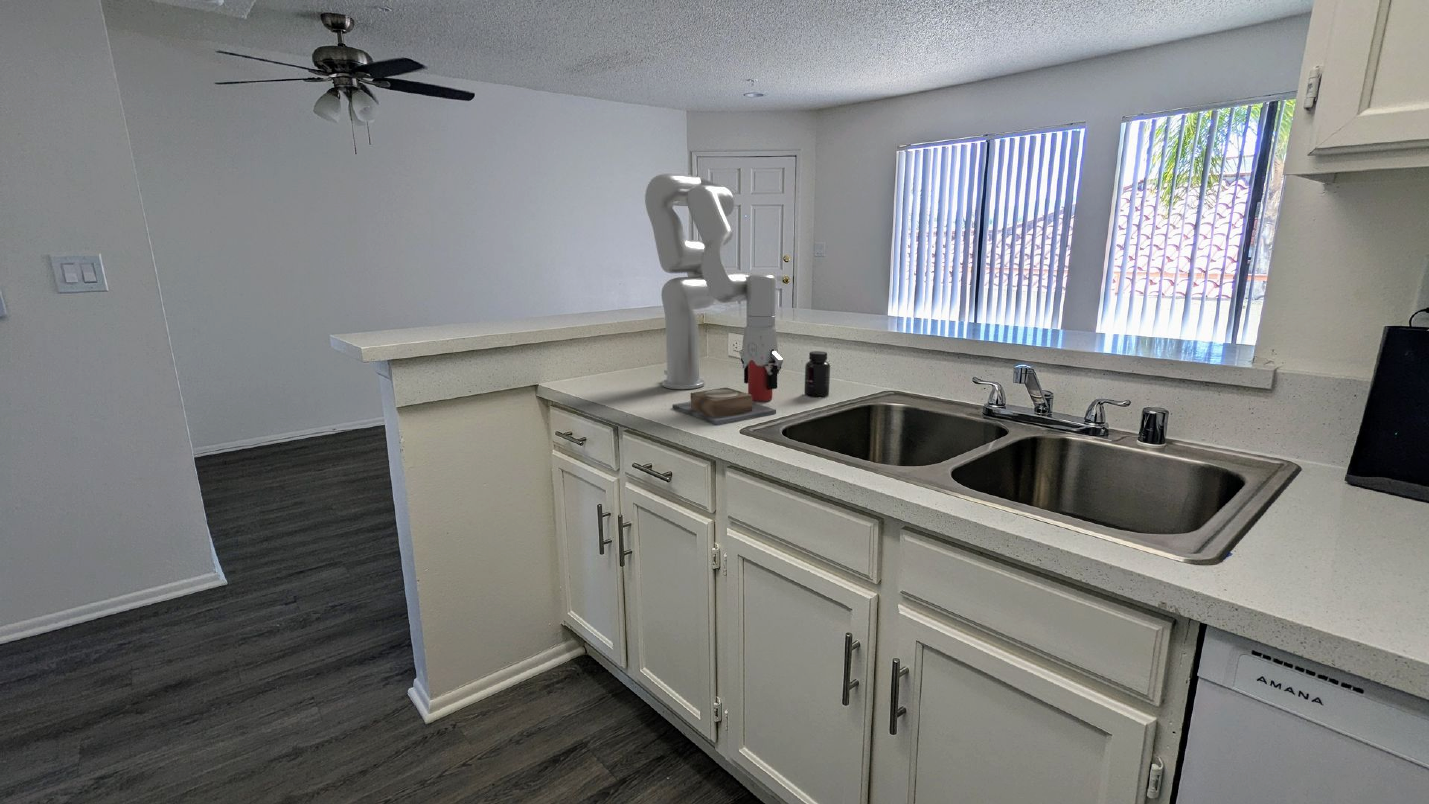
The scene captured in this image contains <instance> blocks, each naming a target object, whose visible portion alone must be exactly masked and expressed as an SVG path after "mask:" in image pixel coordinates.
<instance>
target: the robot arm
mask: <svg viewBox="0 0 1429 804" xmlns="http://www.w3.org/2000/svg"><path fill="white" fill-rule="evenodd" d="M734 199H735V198H734V196H733V193H732V192H731V191H730V190H729V189H728V188H727V187H725V186H724V185H721V184H718V183H716V182H714V181H711V180H707V179H706V178H702V177H700V176H697V175H696V176H694V175H688V174H687V175H686V174H677V173H662V174H657V175H656V176H654V177H653V178H652V179H650V181H649V182H648V184H647V186H646V189H645V195H644V202H645V203H644V204H645V209H646V211H647V215H648V217H649V220H650V223H651V227H652V230H653V235H654V241H655V246H656V251H657V256H658V261H659V264H660V267H661V270H662V271H664V272H666V273H667V274H686V276H685V277H684V276H683V277H674V278H671V279H669V280H667V281H666V282H665V283H664V285H663V286H662V288H661V303H662V306H663V311H664V318H665V339H666V340H665V341H666V342H665V343H666V345H665V346H666V369H665V370H664V372H663V374H664V375H666V379H664V380H662V382H661V385H662V387H664V388H667V389H672V390H692V389H698V388H701V387H703V386H705V380H704V379H702V378H700V349H699V347H700V346H699V345H700V344H699V343H700V340H699V339H700V337H699V336H700V335H699V323H698V319H697V317H696V315H695V312H694V310H700V309H707V308H709V307H711V306H713V304H714V303H715V301H717V302H719V303H735V302H746V326H744V330H743V337H742V338H743V339H742V347H741V348H742V349H741V350H740V351H739V352H738V353H739V356H740V357H739V358H740V362H741V363H742V369H743V382H744V383H743V384H747V385H748V363H749V361H750V360H753V361H754V362H755V364H756V365H757V366H759V367H764V366H765V368H766V370H767V372H768V375H767V380H766V388H767V390H771V389H772V390H774V389H775V390H777V388H778V375H779V374H780V371H781V369H782V365H783V363H784V359H783V358H782V357H781V356H780V354H778V350H779V349H778V337H777V329H776V286H777V285H776V278H775V276H774V275H772V274H767V273H765V274H764V273H763V274H762V273H760V274H759V273H757V274H756V273H750V272H732V273H731V272H729V273H728V272H727V270H726V267H725V265H724V263H723V260H722V248H723V247H724V246H726V245H727V244H728V243H730V241H731V240H732V239H733V236H734V233H733V232H734V231H733V230H732V227H731V226H730V223H729V221H728V218H727V217H728V216H729V215H731V214H732V212H733V210H734V207H735V200H734ZM675 206H677V207H687V208H688V210H689V213H690V215H691V217H692V218H691V219H692V221H693V223H694V225H695V227H696V230H697V233H698V235H699V237H700V239H701V241H702V242H701V241H699V240H697V239H687V238H686V236H685V232H684V227H683V224H682V221H681V219H680V217H679V215H678V213H676V211H675V210H674V209H673V207H675ZM752 357H753V358H752ZM769 362H771V363H769ZM770 367H772V369H771V368H770Z"/></svg>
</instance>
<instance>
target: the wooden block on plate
mask: <svg viewBox="0 0 1429 804" xmlns="http://www.w3.org/2000/svg"><path fill="white" fill-rule="evenodd" d="M671 406H672V408H671V409H673V410H676V411H679V412H681V413H683V414H686V415H689V416H692V417H695V418H696V419H700V420H703V421H704V422H708V423H710V424H713V425H715V426H720V425H725V424H729V423H735V422H740V421H745V420H750V419H755V418H760V417H766V416H771V415H776V414H777V409H775V408H772V407H768V406H765V405H762V404H759V403H757V402H754V401H752V395H750V394H748V392H747V393H746V392H744V391H740V390H736V389H733V388H730V387H727V386H726V387H720V388H715V389H714V388H713V389H709V390H708V389H707V390H702V391H695V392H690V401H686V402H679V403H673V404H672V405H671Z"/></svg>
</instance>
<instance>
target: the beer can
mask: <svg viewBox="0 0 1429 804" xmlns="http://www.w3.org/2000/svg"><path fill="white" fill-rule="evenodd" d="M752 358H753V357H752ZM769 363H771V362H769ZM770 368H771V369H772V367H770ZM767 375H768V372H767V370H766V368H765V366H764V367H759V366H757V365H756V364H755V362H754V361H753V360H750V361H749V363H748V383H747V388H748V389H747V394H750V395H752V402H753V403H767V402H770V401H771V400H773V389H771V390H767V388H766V380H767Z"/></svg>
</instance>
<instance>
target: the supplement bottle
mask: <svg viewBox="0 0 1429 804" xmlns="http://www.w3.org/2000/svg"><path fill="white" fill-rule="evenodd" d="M808 359H809V361H807V362H806V363H805V364H804V365H805V366H804V369H805V370H804V387H803V388H804V389H803V390H804V395H805V396H807V397H809V398H817V399H818V398H819V397H821V398H826V397H825V396H827V397H829V395H830V384H831V383H830V381H831V365H830V362H828V361H827V360H828V352H826V351H819V350H815V351H813V350H812V351H810V352H809V356H808ZM819 399H820V398H819Z"/></svg>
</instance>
